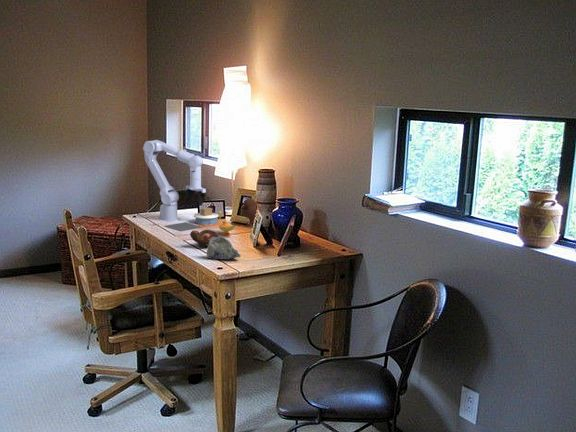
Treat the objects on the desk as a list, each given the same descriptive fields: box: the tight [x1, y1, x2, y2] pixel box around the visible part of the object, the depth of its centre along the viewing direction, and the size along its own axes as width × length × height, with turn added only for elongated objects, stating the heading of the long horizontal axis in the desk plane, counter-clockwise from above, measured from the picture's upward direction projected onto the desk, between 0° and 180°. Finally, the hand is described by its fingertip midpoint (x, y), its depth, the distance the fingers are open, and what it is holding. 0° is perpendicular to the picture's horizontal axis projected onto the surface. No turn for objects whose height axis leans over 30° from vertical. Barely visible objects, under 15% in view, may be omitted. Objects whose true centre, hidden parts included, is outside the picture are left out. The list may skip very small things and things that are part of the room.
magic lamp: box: [218, 210, 239, 237], centre depth 282 cm, size 7×18×11 cm, turn 36°
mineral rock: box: [206, 235, 242, 260], centre depth 241 cm, size 13×11×10 cm
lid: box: [193, 207, 220, 219], centre depth 305 cm, size 13×13×4 cm
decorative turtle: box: [189, 229, 220, 249], centre depth 260 cm, size 10×15×8 cm, turn 111°
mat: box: [163, 221, 204, 232], centre depth 296 cm, size 15×14×1 cm
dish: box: [195, 216, 219, 226], centre depth 307 cm, size 11×11×4 cm
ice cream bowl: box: [240, 197, 257, 228], centre depth 302 cm, size 11×11×15 cm
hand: (195, 204), depth 306 cm, fingers open, 7 cm apart
